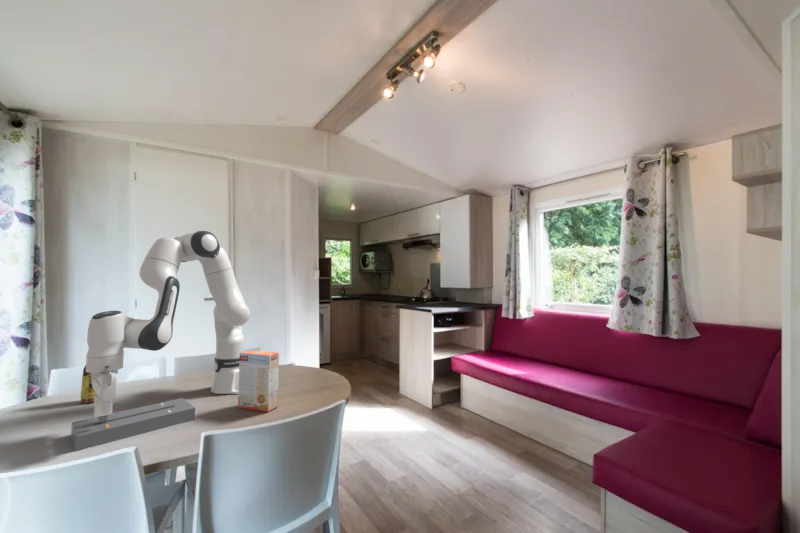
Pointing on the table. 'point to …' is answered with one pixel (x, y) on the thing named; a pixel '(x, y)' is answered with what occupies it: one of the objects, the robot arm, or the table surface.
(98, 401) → the fader knob
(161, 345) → the robot arm
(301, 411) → the table surface
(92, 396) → the sauce bottle
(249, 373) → the cracker box
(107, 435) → the console
